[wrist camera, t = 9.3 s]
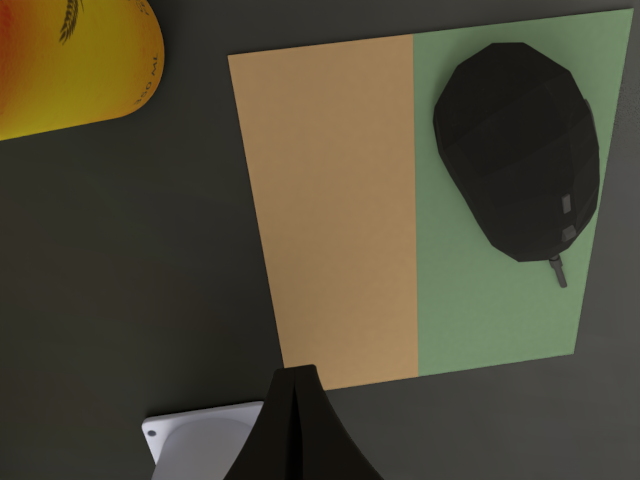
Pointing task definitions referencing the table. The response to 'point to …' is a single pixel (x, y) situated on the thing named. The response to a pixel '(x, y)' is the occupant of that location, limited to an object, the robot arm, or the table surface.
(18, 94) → the beer can
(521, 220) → the gaming mouse
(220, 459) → the robot arm
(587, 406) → the table surface
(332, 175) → the desk mat
